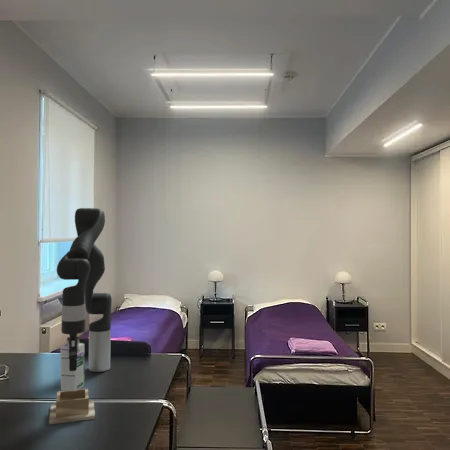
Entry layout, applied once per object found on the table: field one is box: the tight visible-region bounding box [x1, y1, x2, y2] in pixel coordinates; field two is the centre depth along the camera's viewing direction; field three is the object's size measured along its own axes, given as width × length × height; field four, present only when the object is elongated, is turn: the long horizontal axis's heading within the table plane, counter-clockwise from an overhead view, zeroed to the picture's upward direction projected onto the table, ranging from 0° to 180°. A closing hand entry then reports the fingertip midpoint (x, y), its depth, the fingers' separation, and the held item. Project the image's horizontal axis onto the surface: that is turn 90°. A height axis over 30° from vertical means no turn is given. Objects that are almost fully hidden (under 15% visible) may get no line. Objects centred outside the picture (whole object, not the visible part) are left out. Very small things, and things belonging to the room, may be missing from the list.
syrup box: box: [60, 342, 86, 391], centre depth 149 cm, size 6×6×14 cm
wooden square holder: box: [48, 387, 96, 425], centre depth 149 cm, size 14×14×6 cm
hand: (73, 367), depth 149 cm, fingers closed on syrup box, 7 cm apart
